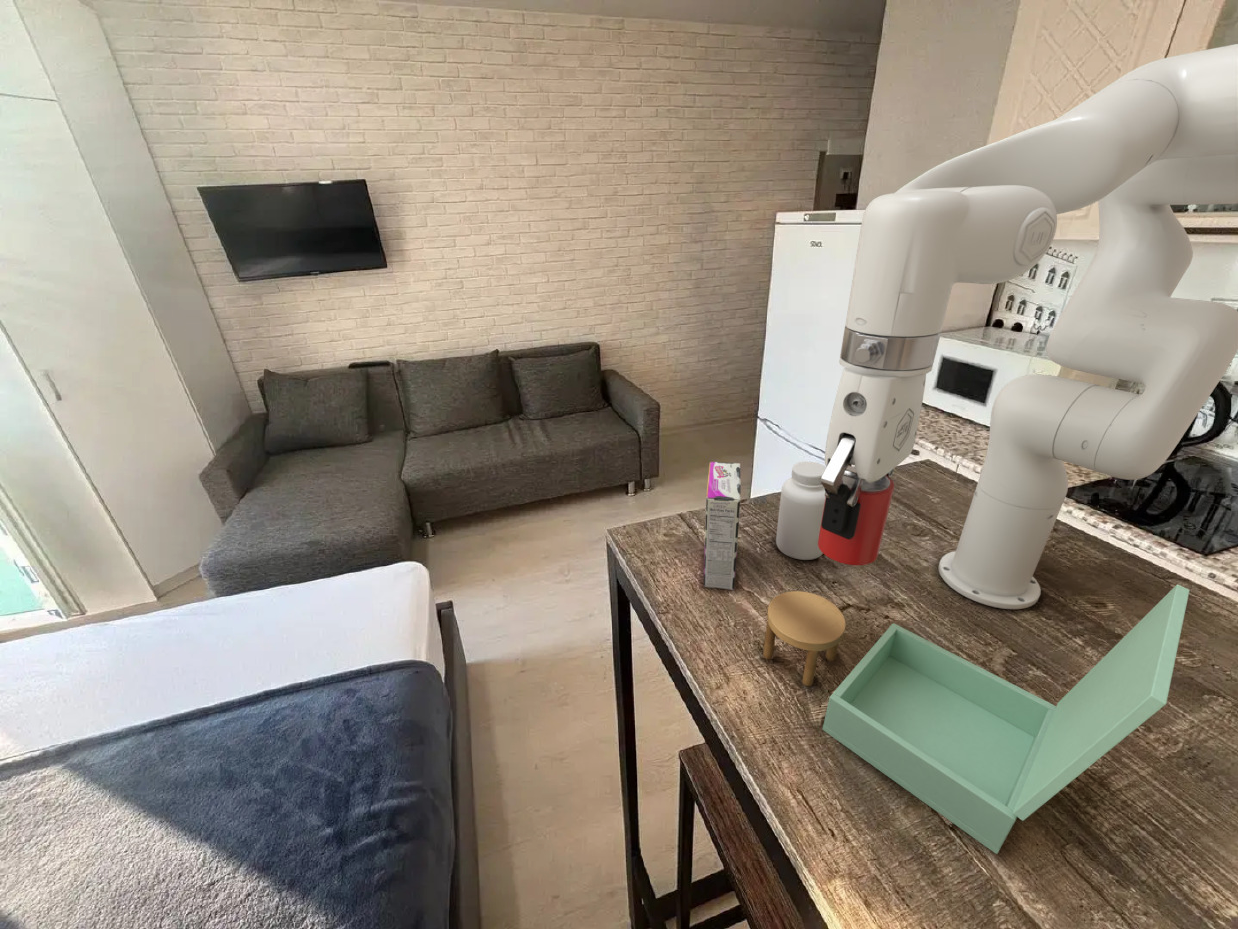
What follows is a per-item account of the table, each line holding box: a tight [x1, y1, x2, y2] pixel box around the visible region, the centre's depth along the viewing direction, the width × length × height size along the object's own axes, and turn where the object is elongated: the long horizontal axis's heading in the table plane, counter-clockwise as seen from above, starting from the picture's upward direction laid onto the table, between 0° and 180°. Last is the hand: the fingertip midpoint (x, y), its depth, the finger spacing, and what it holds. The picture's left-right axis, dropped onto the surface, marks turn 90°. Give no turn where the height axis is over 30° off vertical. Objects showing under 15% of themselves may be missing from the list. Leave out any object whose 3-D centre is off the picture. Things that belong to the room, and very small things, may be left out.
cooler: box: [822, 622, 1057, 855], centre depth 54 cm, size 17×16×5 cm
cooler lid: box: [1013, 584, 1190, 822], centre depth 42 cm, size 18×16×1 cm
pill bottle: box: [775, 461, 827, 561], centre depth 83 cm, size 8×8×15 cm
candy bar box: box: [703, 461, 742, 591], centre depth 78 cm, size 11×5×16 cm, turn 168°
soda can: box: [818, 465, 895, 566], centre depth 53 cm, size 6×6×9 cm
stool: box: [762, 590, 846, 687], centre depth 64 cm, size 9×9×7 cm
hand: (853, 518), depth 53 cm, fingers closed on soda can, 6 cm apart
